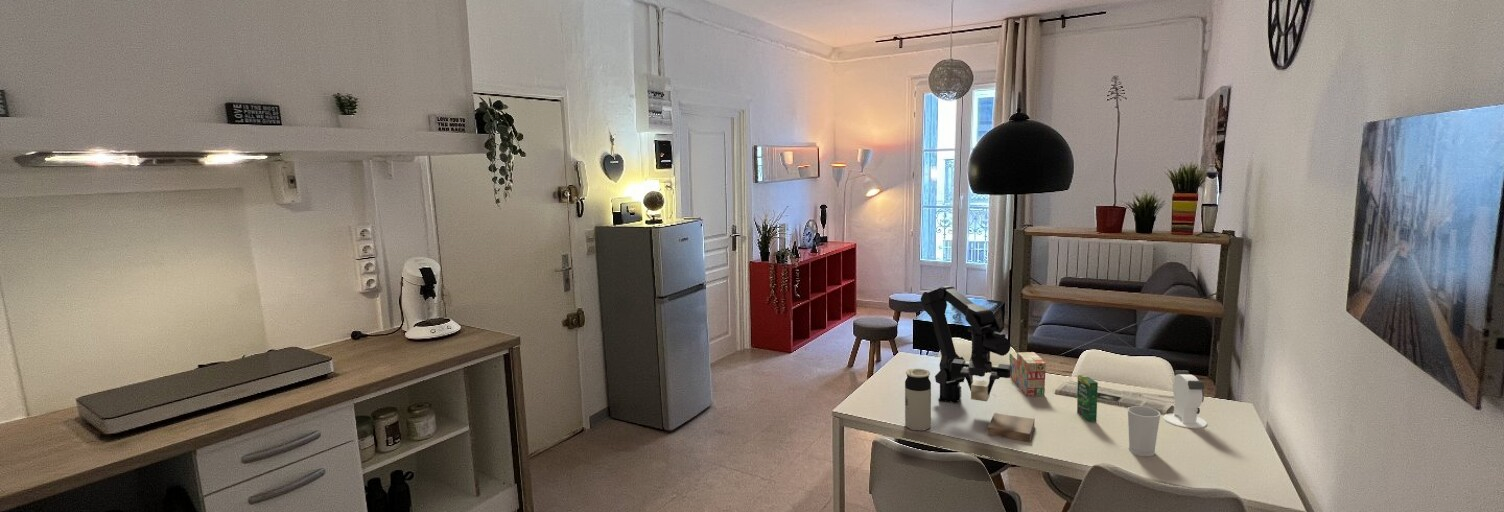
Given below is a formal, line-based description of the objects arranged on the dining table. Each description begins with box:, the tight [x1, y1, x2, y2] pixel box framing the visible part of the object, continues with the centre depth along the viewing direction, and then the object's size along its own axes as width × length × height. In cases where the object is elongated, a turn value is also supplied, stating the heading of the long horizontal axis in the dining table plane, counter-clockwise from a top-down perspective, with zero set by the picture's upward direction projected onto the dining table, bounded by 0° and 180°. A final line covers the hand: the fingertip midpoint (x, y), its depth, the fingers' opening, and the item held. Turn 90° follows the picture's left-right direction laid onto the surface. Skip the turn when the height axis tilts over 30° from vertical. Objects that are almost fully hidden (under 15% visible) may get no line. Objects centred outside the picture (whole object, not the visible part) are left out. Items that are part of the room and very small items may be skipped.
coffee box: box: [1076, 374, 1099, 423], centre depth 212 cm, size 8×3×13 cm, turn 0°
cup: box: [1127, 406, 1161, 457], centre depth 187 cm, size 8×8×12 cm
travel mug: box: [904, 368, 932, 431], centre depth 210 cm, size 8×8×18 cm
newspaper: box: [1054, 380, 1175, 415], centre depth 227 cm, size 35×12×4 cm, turn 49°
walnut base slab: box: [987, 412, 1035, 443], centre depth 205 cm, size 12×12×2 cm
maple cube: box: [970, 379, 991, 402], centre depth 217 cm, size 5×5×5 cm
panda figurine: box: [1163, 369, 1207, 429], centre depth 206 cm, size 12×11×15 cm
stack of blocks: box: [1008, 351, 1047, 397], centre depth 242 cm, size 21×6×12 cm, turn 175°
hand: (980, 393), depth 217 cm, fingers closed on maple cube, 5 cm apart
